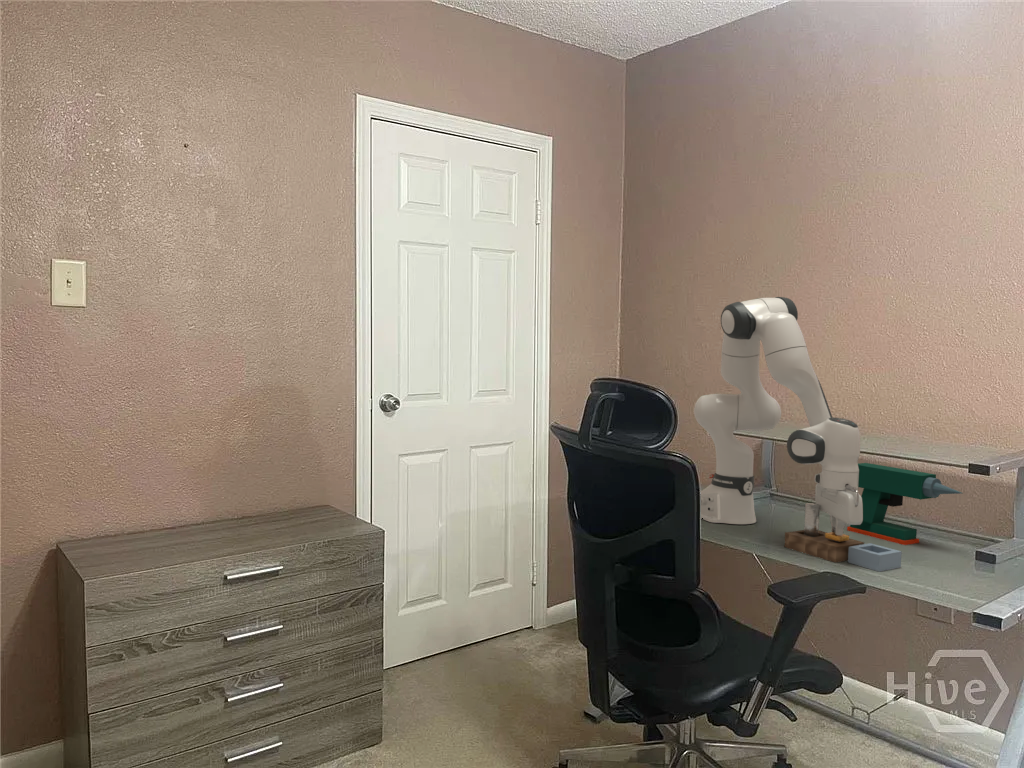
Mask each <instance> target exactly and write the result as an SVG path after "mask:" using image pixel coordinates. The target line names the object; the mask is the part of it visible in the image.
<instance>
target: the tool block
mask: <svg viewBox="0 0 1024 768" xmlns="http://www.w3.org/2000/svg"><path fill="white" fill-rule="evenodd" d="M825 533H828V532H825V531H823V530H819V533H818V537H810V536H806V535H804V529H801V530H794V531H787V532H786V531H785V532H784V548H785V547H786V549H790V550H792V549H793V550H792V551H795V550H796V551H795V552H799V553H802V552H803V554H805V553H806V555H808V554H809V555H808V556H811V557H816V558H819V559H822V560H825V561H829V562H833V563H835V564H836V563H840V562H841V563H842V562H848V552H849V547H850V546H856V545H862V544H865V542H864V541H861V540H856V539H852V538H850V537H849V540H847V541H844V542H842V543H836V542H833V541H830V539H828V538H825Z"/></svg>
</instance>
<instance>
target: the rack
mask: <svg viewBox="0 0 1024 768" xmlns="http://www.w3.org/2000/svg"><path fill="white" fill-rule="evenodd" d="M902 554H903V553H902V550H897V549H893V548H890V547H886V546H883V545H879V544H874V543H864V544H862V545H856V546H850V547H849V552H848V561H847V563H849V564H852V565H854V566H859V567H863V568H865V569H869V570H872V571H876V572H879V573H880V572H883V571H884V572H885V571H889V570H894V569H898V568H902Z"/></svg>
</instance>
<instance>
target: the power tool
mask: <svg viewBox="0 0 1024 768" xmlns="http://www.w3.org/2000/svg"><path fill="white" fill-rule="evenodd" d="M858 468H859V481H858V488H861V489H862V493H861V495H860V496H861V497H862V503H863V521H862V523H861V524H860V525H849V526H847V529H846V531H848V532H853V533H857V534H861V535H864V536H868V537H871V538H876V539H879V540H883V541H887V542H891V543H895V544H899V545H903V546H907V545H914V544H919V543H920V538H917V534H918V533H917V531H918V529H917V528H915V527H909V526H904V525H899V524H897V523H893V522H887V521H884V520H885V517H886V513H887V511H888V508H889V507H894V508H895V507H900V506H903V500H904V499H903V498H904V497H907V498H912V499H916V500H927V499H928V500H929V499H936V498H939V497H940V495H957V494H958V495H959V494H963V492H961V491H959V490H956V489H954V488H952V487H949V486H946V485H943V484H942V482H941V480H940V479H939V478H937V474H935V473H929V472H922V471H918V470H910V469H906V468H900V467H893V466H886V465H881V464H875V463H870V462H869V463H868V462H858Z"/></svg>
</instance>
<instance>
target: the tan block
mask: <svg viewBox="0 0 1024 768" xmlns="http://www.w3.org/2000/svg"><path fill="white" fill-rule="evenodd" d="M825 538H828V539H830V541H833V542H836V543H842V542H844V541H847V540H849V538H850V535H848V534H845V533H843V535H842V536H840V535H836V534H834V533H832V531H830V532H827V533H825Z"/></svg>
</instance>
